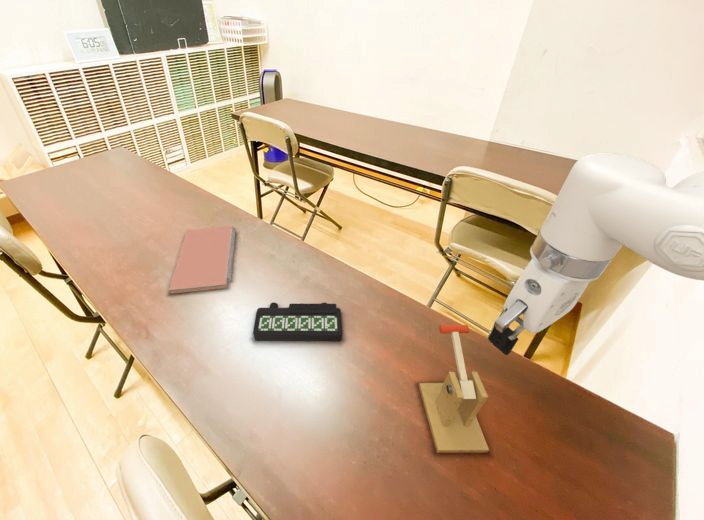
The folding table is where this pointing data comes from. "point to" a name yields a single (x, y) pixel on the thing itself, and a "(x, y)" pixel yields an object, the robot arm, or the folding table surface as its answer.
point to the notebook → (204, 260)
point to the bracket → (454, 415)
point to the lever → (460, 358)
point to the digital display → (298, 323)
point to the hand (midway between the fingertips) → (518, 333)
